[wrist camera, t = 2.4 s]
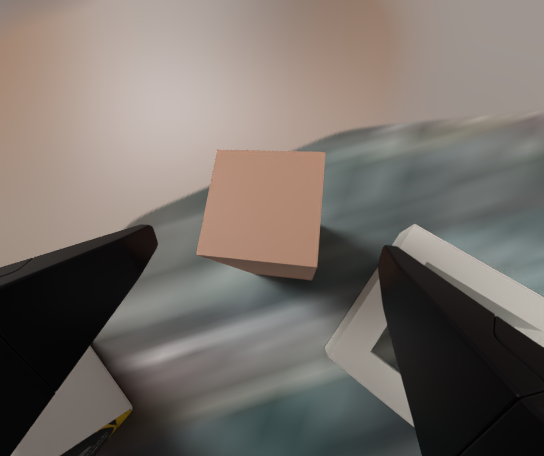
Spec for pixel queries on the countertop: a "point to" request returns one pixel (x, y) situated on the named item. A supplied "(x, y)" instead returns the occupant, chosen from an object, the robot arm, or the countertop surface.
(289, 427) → the countertop surface
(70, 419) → the printed box
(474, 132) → the countertop surface
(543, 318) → the socket block
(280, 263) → the plug
